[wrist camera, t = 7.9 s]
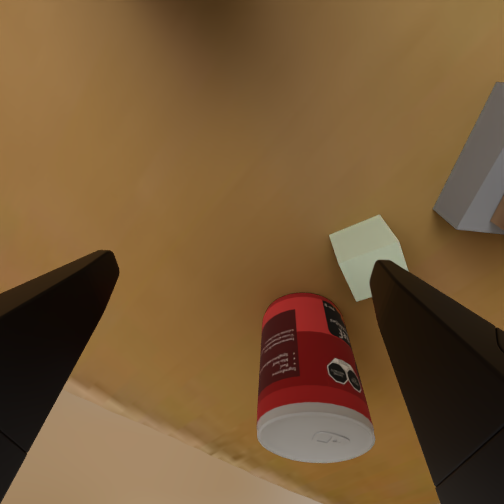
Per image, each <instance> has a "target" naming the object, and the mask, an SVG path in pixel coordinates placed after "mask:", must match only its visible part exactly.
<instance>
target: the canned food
mask: <svg viewBox="0 0 504 504" xmlns="http://www.w3.org/2000/svg"><path fill="white" fill-rule="evenodd" d="M257 437H258V440H259V442H260V443H261V445H262V446H264V447H265V448H266V449H267V450H269V451H271V452H273V453H274V454H277V455H279V456H282V457H284V458H288V459H291V460H296V461H302V462H311V463H331V462H340V461H345V460H349V459H352V458H355V457H358V456H360V455H362V454H364V453H366V452H367V451H368V450H370V449H371V448H372V446H373V445H374V443H375V436H374V429H373V425H372V421H371V417H370V413H369V409H368V405H367V402H366V398H365V395H364V391H363V387H362V384H361V380H360V377H359V373H358V370H357V366H356V362H355V359H354V355H353V352H352V348H351V345H350V341H349V337H348V334H347V330H346V327H345V323H344V320H343V316H342V315H341V313H340V311H339V310H338V308H337V307H336V306H335V305H334V304H333V303H332V302H331V301H329V300H328V299H326V298H324V297H322V296H320V295H316V294H312V293H294V294H289V295H286V296H283V297H281V298H279V299H277V300H275V301H274V302H273V303H272V304H271V305H270V306H269V307H268V309H267V311H266V313H265V315H264V317H263V323H262V339H261V356H260V373H259V390H258V407H257Z"/></svg>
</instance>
